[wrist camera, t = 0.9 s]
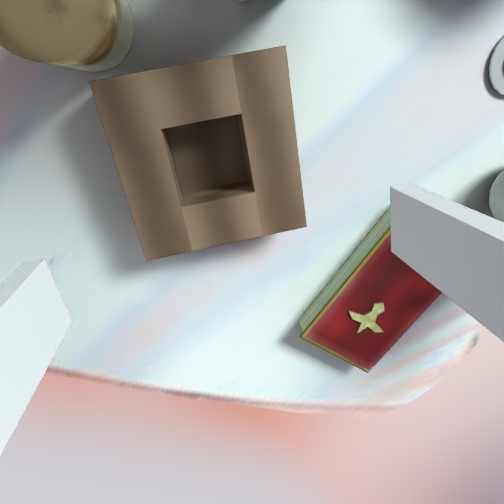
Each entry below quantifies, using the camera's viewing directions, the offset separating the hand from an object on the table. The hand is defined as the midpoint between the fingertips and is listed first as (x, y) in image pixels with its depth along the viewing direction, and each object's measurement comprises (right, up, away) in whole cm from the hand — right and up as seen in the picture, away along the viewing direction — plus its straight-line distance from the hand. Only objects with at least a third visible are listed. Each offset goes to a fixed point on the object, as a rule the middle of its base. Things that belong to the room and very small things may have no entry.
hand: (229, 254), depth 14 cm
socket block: (-4, +10, +24) cm, 27 cm away
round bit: (-14, +20, +19) cm, 31 cm away
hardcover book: (+17, -3, +34) cm, 38 cm away
